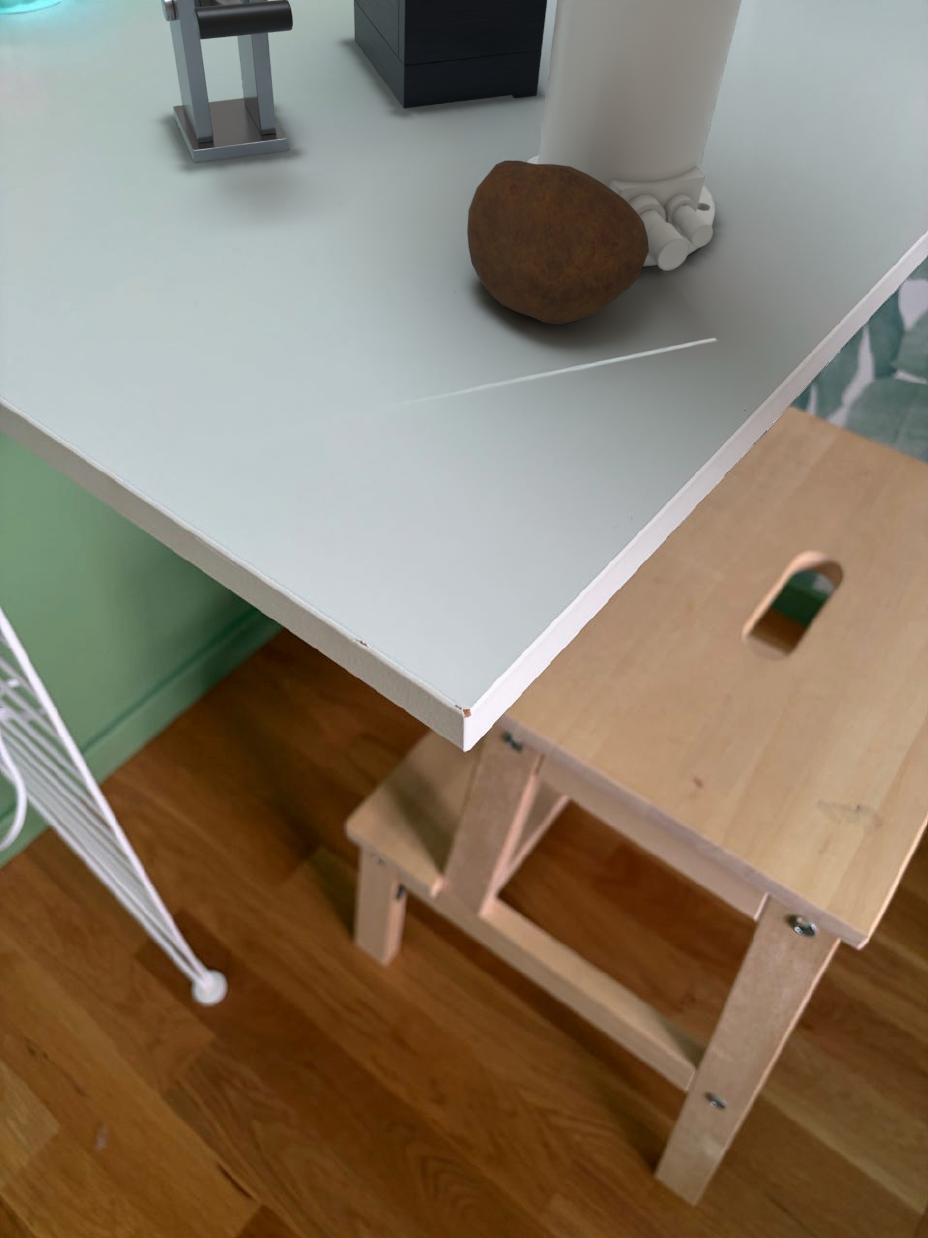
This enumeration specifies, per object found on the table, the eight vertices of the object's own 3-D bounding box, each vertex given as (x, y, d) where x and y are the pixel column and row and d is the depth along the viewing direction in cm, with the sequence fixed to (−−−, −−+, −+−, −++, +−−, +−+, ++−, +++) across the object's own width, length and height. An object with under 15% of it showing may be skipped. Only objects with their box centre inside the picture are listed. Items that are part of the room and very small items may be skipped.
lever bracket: (288, 153, 66) (276, -16, 58) (195, 166, 64) (169, -7, 56) (264, 110, 69) (249, -56, 61) (175, 121, 67) (148, -48, 60)
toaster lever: (295, 41, 55) (289, -11, 54) (203, 51, 54) (194, -2, 52) (255, 19, 63) (248, -28, 61) (172, 26, 61) (164, -21, 60)
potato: (485, 252, 60) (497, 117, 54) (647, 297, 58) (678, 162, 52) (437, 321, 56) (444, 182, 49) (610, 371, 54) (639, 233, 48)
